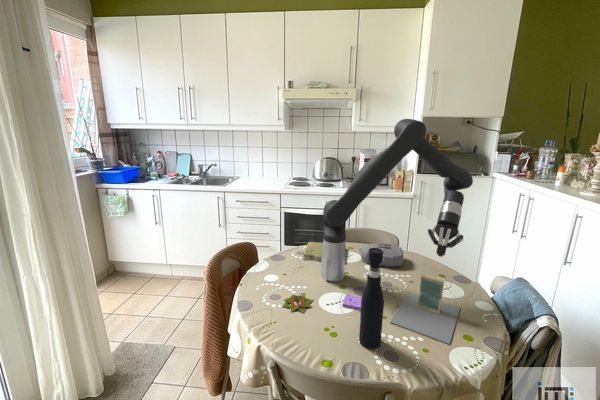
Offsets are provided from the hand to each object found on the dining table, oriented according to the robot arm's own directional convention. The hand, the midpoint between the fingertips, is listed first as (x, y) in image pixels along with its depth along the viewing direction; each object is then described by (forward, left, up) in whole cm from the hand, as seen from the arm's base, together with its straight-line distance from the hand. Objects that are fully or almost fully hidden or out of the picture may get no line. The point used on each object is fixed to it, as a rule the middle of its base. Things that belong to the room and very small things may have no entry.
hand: (440, 255), depth 111 cm
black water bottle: (-36, -16, -17) cm, 43 cm away
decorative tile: (-28, +46, -17) cm, 57 cm away
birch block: (-8, -7, -16) cm, 19 cm away
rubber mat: (-11, -9, -17) cm, 22 cm away
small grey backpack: (-4, +32, -17) cm, 37 cm away
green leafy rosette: (-52, +9, -17) cm, 56 cm away
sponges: (-30, +2, -17) cm, 35 cm away
